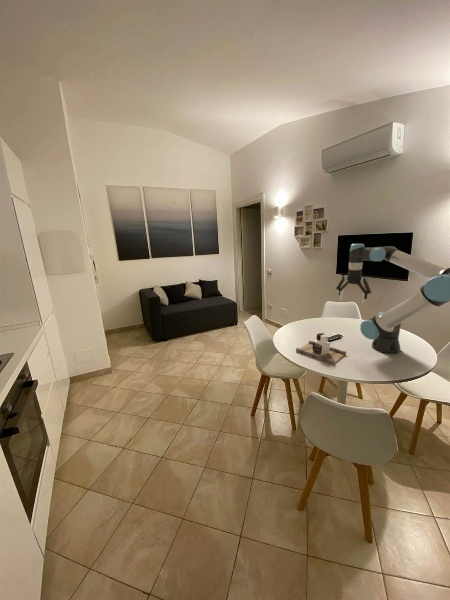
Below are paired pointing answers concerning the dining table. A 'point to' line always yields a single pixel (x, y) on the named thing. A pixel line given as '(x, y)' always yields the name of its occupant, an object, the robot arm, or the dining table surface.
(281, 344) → the dining table surface
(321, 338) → the medicine bottle
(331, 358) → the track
